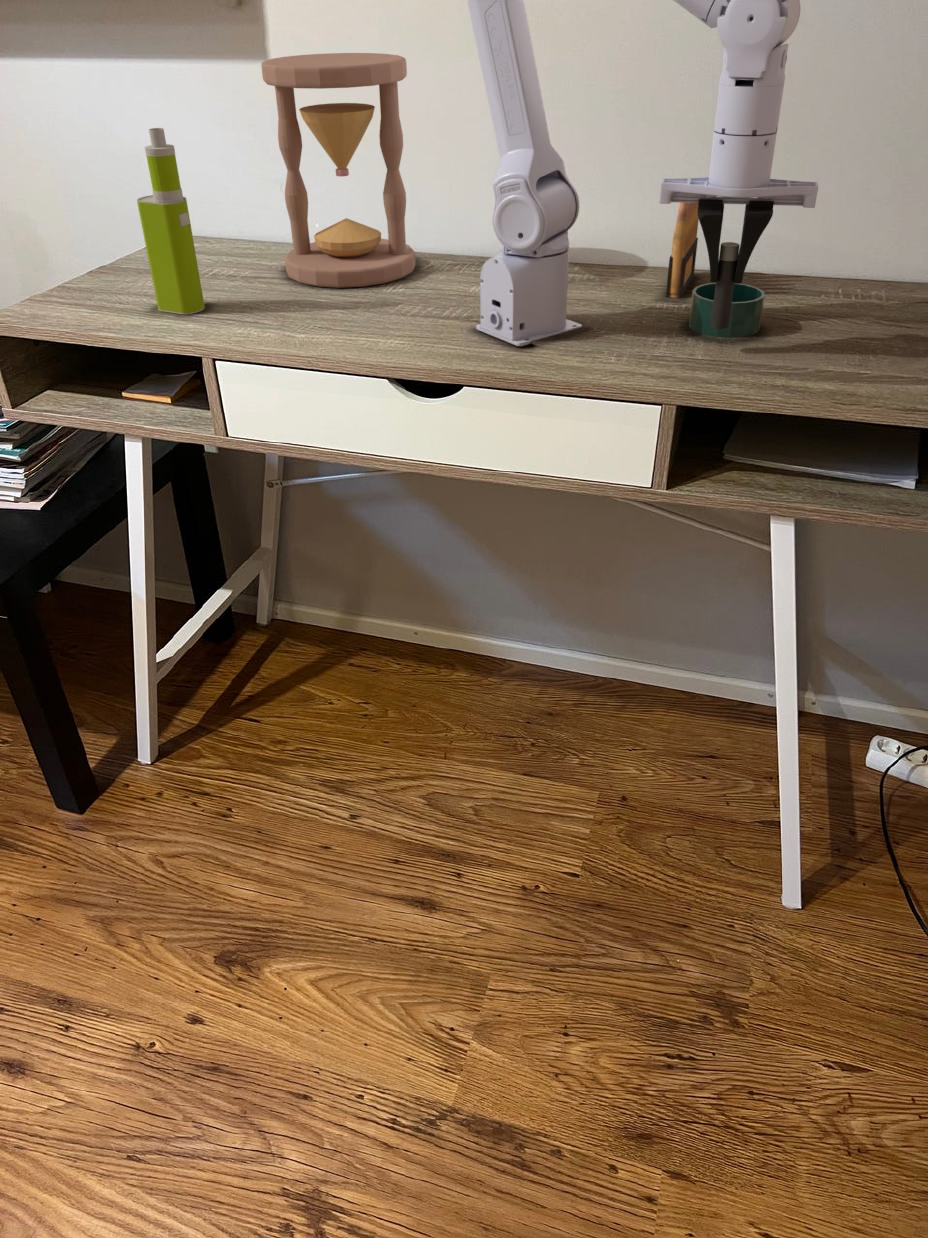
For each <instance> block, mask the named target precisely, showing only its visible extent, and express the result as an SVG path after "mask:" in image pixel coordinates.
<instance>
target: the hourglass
mask: <svg viewBox="0 0 928 1238" xmlns="http://www.w3.org/2000/svg"><path fill="white" fill-rule="evenodd" d="M260 65H261V67H260V68H261V76H262V80H263V82H264V83H265V84H266V85H268V86H272V87H274V91H275V101H276V108H277V117H278V118H277V141H278V147H279V151H280V153H281V156H282V159H283V162H284V165H285V168H286V170H287V172H286V178H285V187H284V200H285V206H286V210H287V215H288V218H289V223H290V231H291V232H290V233H291V240H292V247H293V249H290V251H289V252H288V253H286V255H285V256H284V265H285V266H284V267H285V272H286V274H287V276H288V277H289V279H291V280H294V281H295V282H298V283H299V284H304V285H309V286H314V287H319V288H320V287H321V288H337V289H338V288H339V289H343V288H363V287H369V286H376V285H383V284H387V283H390V282H391V283H392V282H394V281H398V280H402V279H403V278H404V277H407V276H408V275H410V274H412V273H413V271H414V269H415V267H416V264H417V263H416V262H417V261H416V251H415V250H414V249H413V248H412V247H411V246H410V245H409V244H407V243H406V223H405V219H406V218H405V217H406V210H407V193H406V189H405V185H404V181H403V178H402V175H401V172H400V166H401V160H402V155H403V149H404V134H403V129H402V123H401V118H400V105H399V104H400V103H399V88H398V87H399V85H398V82H401V81H403V80H404V79H405V78H406V77H407V74H408V70H407V59H406V57H404V56H401V55H398V54H390V53H378V52H377V53H376V52H333V53H332V52H331V53H329V52H328V53H313V54H298V55H287V56H280V57H274V58H270V59H267V60H265V61H262V62H261V64H260ZM374 86H378V93H379V106H380V108H379V109H380V122H379V135H378V136H379V148H380V150H381V154H382V157H383V161H384V164H385V167H386V174H385V180H384V185H383V190H382V191H383V192H382V201H383V207H384V212H385V217H386V223H387V224H386V225H387V239H386V238H382V232H381V231H380V229H379V230H378V229H376V228H374V227H371V226H369V225H365V224H363V223H360V222H358V221H355V220H352V219H350V218H347V217H346V218H344V219H342V220H339V221H338V222H336V223H334V224H332V225H330V226H328V227H326V228H323V229H322V230H319V231H318V232H316V233H315V234H314V235H313V238H314V242H311V241H310V231H309V221H308V217H309V197H308V191H307V187H306V184H305V182H304V180H303V176H302V173H301V171H300V165H301V160H302V159H301V158H302V151H303V140H302V139H303V138H302V134H301V128H300V124H299V121H298V117H297V107H296V97H295V89H318V90H319V89H321V90H322V89H324V90H325V89H349V88H362V87H374ZM375 108H376V107H375V105H373V104H370V103H369V104H368V103H358V102H331V103H319V104H312V105H306V106H303V107H301V108H299V110H298V111H299V113H300V115H301V117H302V120H303V121H304V123H305V125H306V126H307V128H308V129H309V130H310V131H311V133H312V134H313V136H314V138H315V140H317V142H318V143H319V144H320V146H321V147H322V149H323V150H324V151H325V153H326V154H327V155H328V157H329V158H330V160H331V161H332V163H334V165H335V166H336V168H335V176H336V177H348V176H349V174H350V172H349V168H348V166H349V164H350V162H351V160H352V159H353V156H354V154H355V153H356V151H357V150H358V147H359V145H360V143H361V141H362V140H363V137H364V135H365V133H366V131H367V129H368V128H369V126H370V124H371V121H372V119H373V118H374V114H375V113H374V112H375Z"/></svg>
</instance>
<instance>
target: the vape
mask: <svg viewBox="0 0 928 1238" xmlns="http://www.w3.org/2000/svg"><path fill="white" fill-rule="evenodd" d="M148 133H149V138H150V143H151V144H150V145H146V146H144V152H145V156H146V161H147V167H148V172H149V177H150V182H151V187H152V189H151V190H152V191H151V192H152V195H151V194H150V195H146V196H141V197H138V198H137V199H136V201H137V202H136V203H137V208H138V212H139V218H140V219H139V220H140V223H141V228H142V233H143V239H144V243H145V248H146V249H145V250H146V254H147V258H148V263H149V269H150V274H151V279H152V284H153V288H154V294H155V299H156V306H157V309H158V311H159V312H165V313H171V314H178V315H193V314H196V313H200V312H202V311H203V310H204V309H205V308H206V307H205V302H204V301H205V300H204V295H203V294H204V293H203V289H202V284H201V277H200V271H199V265H198V260H197V254H196V247H195V242H194V235H193V231H192V230H193V229H192V225H191V218H190V213H189V207H188V199H187V197H185V196H184V194H183V189H182V187H181V181H180V175H179V169H178V164H177V158H176V157H177V156H176V150H175V145H174V144H169V143H167V140H166V135H165V129H164V128H163V127H154V128H149V129H148Z"/></svg>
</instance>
